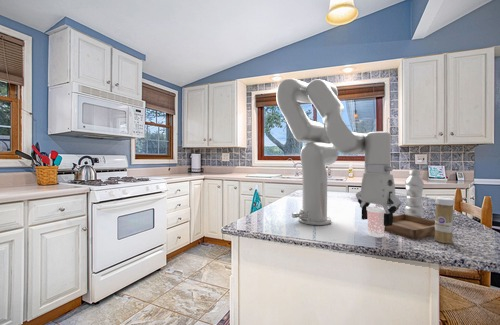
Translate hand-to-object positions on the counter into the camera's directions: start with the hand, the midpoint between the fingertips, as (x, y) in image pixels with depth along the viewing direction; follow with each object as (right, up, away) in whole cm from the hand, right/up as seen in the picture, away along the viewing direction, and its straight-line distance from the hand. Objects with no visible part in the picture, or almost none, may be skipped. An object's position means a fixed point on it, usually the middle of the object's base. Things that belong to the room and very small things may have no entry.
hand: (376, 221), depth 84 cm
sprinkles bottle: (+18, -5, -6) cm, 19 cm away
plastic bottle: (+27, -4, +23) cm, 36 cm away
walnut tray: (+15, -4, +7) cm, 17 cm away
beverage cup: (0, -5, 0) cm, 5 cm away
